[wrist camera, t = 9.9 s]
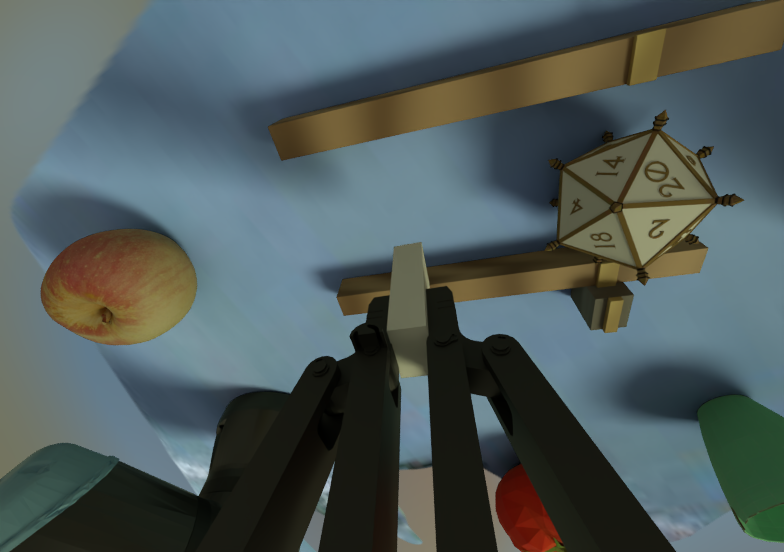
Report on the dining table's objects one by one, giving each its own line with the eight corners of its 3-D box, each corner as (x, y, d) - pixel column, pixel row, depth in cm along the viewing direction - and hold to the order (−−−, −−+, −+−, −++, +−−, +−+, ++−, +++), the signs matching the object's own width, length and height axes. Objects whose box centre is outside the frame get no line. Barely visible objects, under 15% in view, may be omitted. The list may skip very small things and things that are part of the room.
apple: (95, 252, 29) (-1, 313, 22) (137, 189, 25) (36, 239, 18) (185, 311, 32) (125, 378, 26) (234, 263, 28) (178, 328, 22)
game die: (546, 162, 25) (498, 155, 18) (693, 99, 20) (716, 51, 12) (580, 272, 26) (547, 313, 18) (734, 242, 20) (781, 282, 12)
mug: (649, 415, 36) (715, 523, 28) (742, 365, 31) (858, 481, 23) (736, 455, 39) (818, 563, 31) (834, 417, 34) (964, 534, 26)
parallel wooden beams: (358, 321, 31) (350, 357, 28) (282, 118, 21) (253, 132, 18) (666, 285, 26) (705, 323, 23) (753, 0, 16) (847, -13, 13)
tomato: (555, 425, 39) (590, 526, 30) (630, 475, 44) (677, 572, 36) (465, 465, 45) (474, 556, 37) (539, 504, 51) (561, 591, 43)
